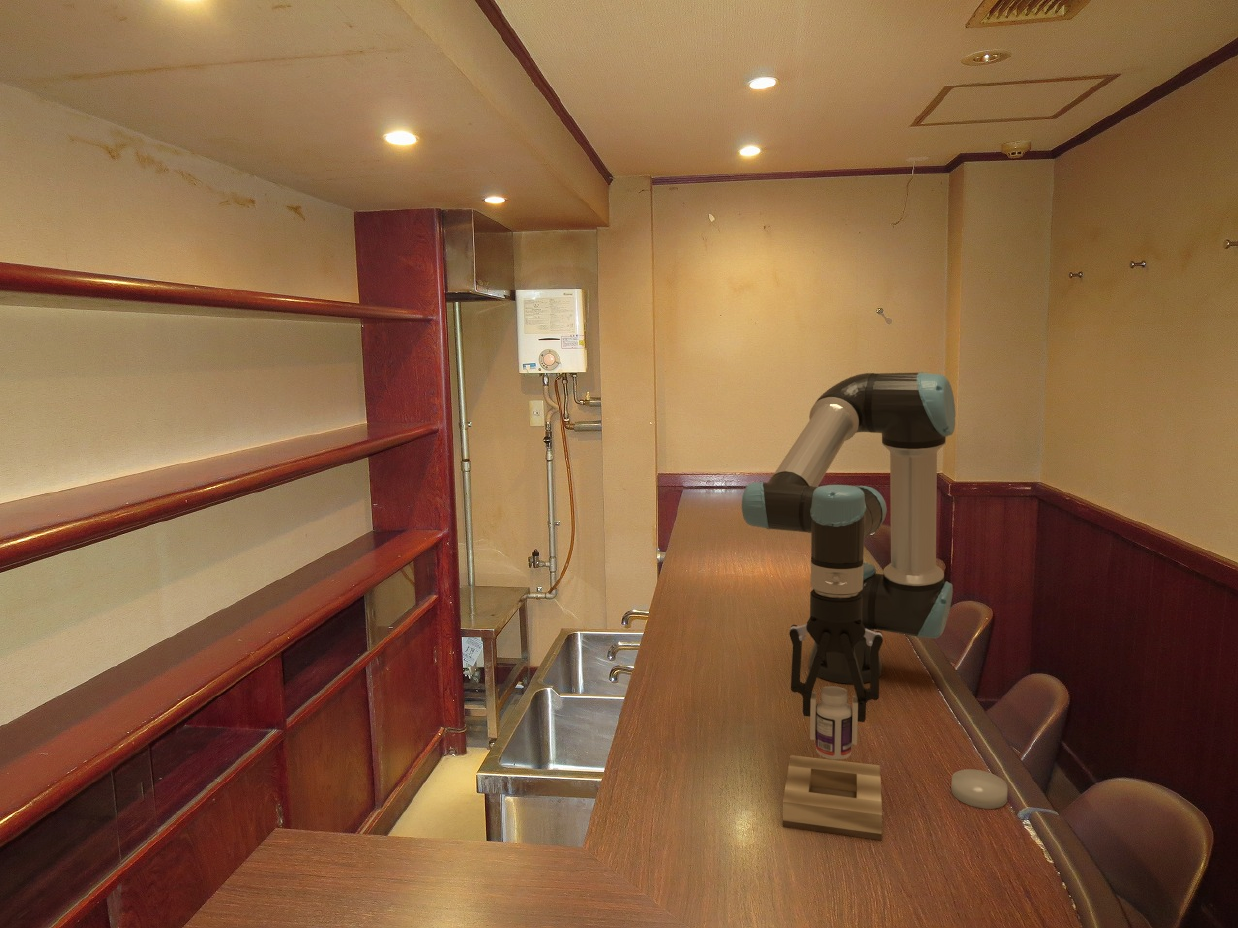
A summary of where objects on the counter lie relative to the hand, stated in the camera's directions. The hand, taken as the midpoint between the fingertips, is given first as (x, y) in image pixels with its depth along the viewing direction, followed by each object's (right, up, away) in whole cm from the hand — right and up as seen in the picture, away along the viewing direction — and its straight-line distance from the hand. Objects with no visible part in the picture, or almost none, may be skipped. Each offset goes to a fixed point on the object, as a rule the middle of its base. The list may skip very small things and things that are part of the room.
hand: (833, 737), depth 124 cm
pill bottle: (0, -2, 0) cm, 2 cm away
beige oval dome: (+24, -10, +4) cm, 27 cm away
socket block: (0, -11, +2) cm, 12 cm away
